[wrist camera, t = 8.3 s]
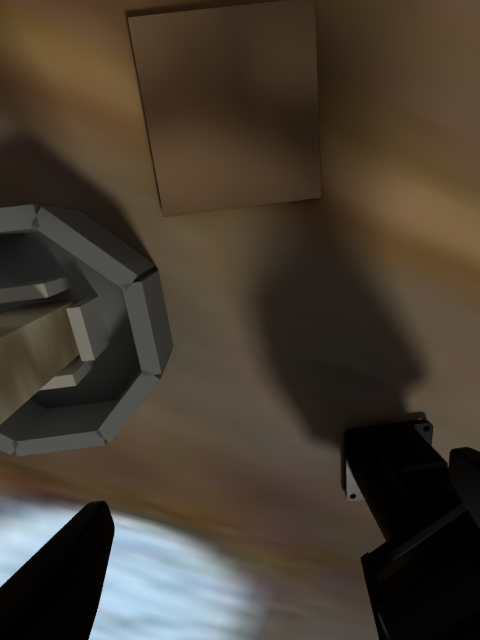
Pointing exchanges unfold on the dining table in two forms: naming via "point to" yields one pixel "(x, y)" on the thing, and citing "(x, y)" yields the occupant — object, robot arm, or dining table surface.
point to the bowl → (83, 326)
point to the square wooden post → (33, 350)
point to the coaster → (231, 104)
